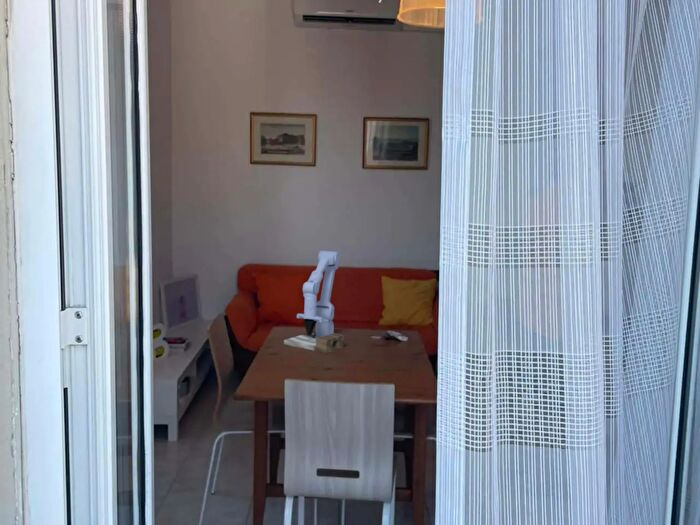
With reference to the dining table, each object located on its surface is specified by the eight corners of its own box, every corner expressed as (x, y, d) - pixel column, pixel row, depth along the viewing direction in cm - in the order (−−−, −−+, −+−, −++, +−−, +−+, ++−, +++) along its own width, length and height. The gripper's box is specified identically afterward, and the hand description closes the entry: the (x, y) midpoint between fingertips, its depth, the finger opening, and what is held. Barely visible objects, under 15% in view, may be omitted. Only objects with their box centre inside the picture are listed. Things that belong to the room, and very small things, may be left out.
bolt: (313, 340, 290) (313, 331, 290) (330, 343, 285) (330, 334, 284) (309, 341, 288) (309, 332, 287) (326, 345, 282) (326, 336, 282)
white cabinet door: (302, 338, 301) (302, 326, 300) (343, 347, 287) (343, 335, 287) (283, 344, 289) (284, 331, 289) (326, 353, 276) (326, 340, 275)
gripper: (293, 305, 288) (292, 333, 290) (317, 310, 280) (316, 338, 282) (302, 303, 294) (301, 331, 296) (326, 308, 286) (325, 336, 288)
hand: (309, 334), depth 289 cm, fingers closed
